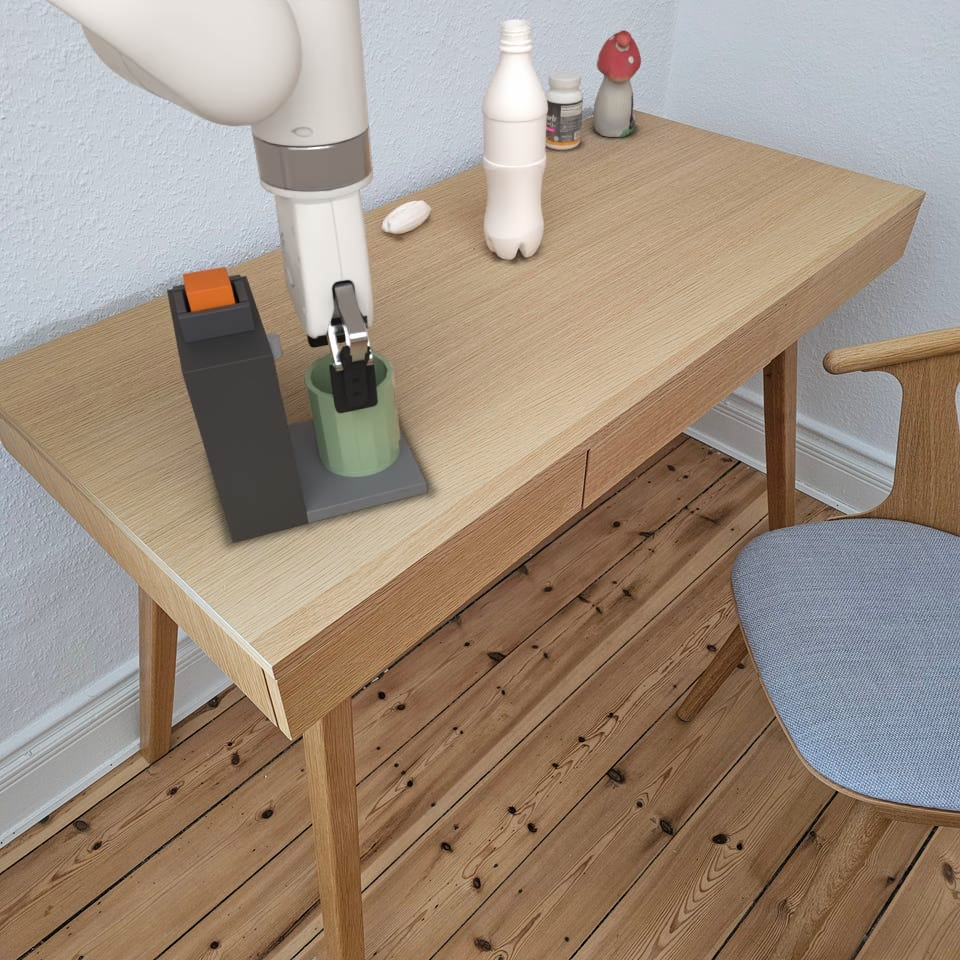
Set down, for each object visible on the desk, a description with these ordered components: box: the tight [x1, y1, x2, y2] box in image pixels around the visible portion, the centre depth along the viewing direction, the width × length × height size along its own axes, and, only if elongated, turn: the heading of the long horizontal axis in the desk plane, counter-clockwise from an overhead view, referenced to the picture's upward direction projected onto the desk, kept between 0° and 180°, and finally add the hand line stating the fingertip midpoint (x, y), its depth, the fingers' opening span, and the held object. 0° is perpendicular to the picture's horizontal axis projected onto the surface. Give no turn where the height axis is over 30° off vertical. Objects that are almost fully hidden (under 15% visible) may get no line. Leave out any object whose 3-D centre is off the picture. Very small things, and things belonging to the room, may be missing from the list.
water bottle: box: [481, 19, 548, 261], centre depth 95 cm, size 7×7×25 cm
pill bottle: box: [545, 69, 584, 151], centre depth 126 cm, size 6×6×10 cm
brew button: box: [182, 266, 236, 312], centre depth 59 cm, size 3×3×2 cm
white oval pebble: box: [381, 199, 432, 235], centre depth 107 cm, size 3×8×3 cm, turn 145°
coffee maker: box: [166, 273, 428, 544], centre depth 67 cm, size 16×12×18 cm
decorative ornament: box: [592, 29, 642, 138], centre depth 128 cm, size 9×7×15 cm
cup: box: [303, 351, 401, 477], centre depth 70 cm, size 7×7×8 cm
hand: (341, 374), depth 67 cm, fingers open, 9 cm apart
